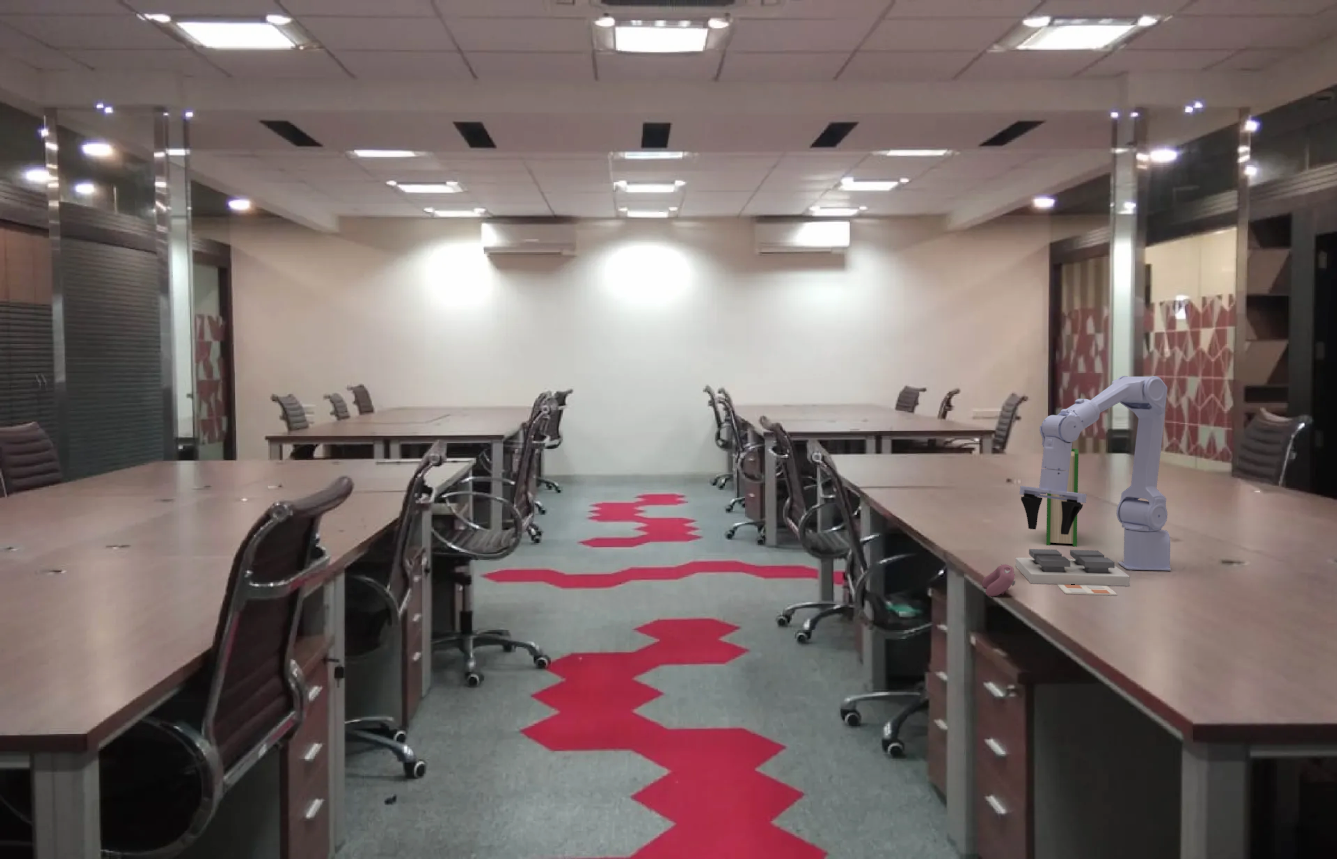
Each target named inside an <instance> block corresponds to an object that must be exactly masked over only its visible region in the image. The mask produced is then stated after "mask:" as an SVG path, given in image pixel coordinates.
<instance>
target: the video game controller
mask: <svg viewBox="0 0 1337 859" xmlns="http://www.w3.org/2000/svg"><path fill="white" fill-rule="evenodd" d="M1015 577H1016V574H1015V570H1014V567H1013V566H1011V565H1009V564H1008V563H1007V564H1006V563H1005V564H1003V563H1000V565H999V566H997V567H996V569H995V570H993V571H992V572H991V573H989V574H988V575H987V576H985V577H984V578H983V579H982V582H981V586H982V588H984V589H985V594H986V596H987V597H989V598H990V597H996V596H998V595H999V596H1000V595H1004V594H1005V593H1006V592H1007V590H1009V589H1010V587H1011V586H1012V587H1013V586H1015V585H1016V580H1015Z"/></svg>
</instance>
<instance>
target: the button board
mask: <svg viewBox="0 0 1337 859" xmlns="http://www.w3.org/2000/svg"><path fill="white" fill-rule="evenodd" d="M1067 559H1068V560H1069V561H1071V562H1070V567H1065V570H1064V572H1043V571H1042V566H1040V565H1039V564H1035V563H1034V559H1033V558H1032V557H1015V567H1016V569H1018V570H1019V572H1020V573H1021V574H1022V575H1023V576H1024V577H1025V579H1026V580H1027V581H1028V582H1029V583H1030V584H1033V585H1035V584H1037V585H1038V584H1039V585H1041V584H1042V585H1043V584H1044V585H1071V584H1075V585H1098V586H1108V587H1109V586H1114V587H1115V586H1116V587H1131V576H1129V575H1128V574H1127V573H1126V572H1125V571H1123V570H1121V569H1120V568H1119V567H1117V565H1115V568H1108V573H1086V572H1085V571H1084V570H1085V567H1084V566H1083V565H1077V564H1075V559H1074V558H1067Z"/></svg>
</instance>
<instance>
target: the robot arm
mask: <svg viewBox="0 0 1337 859" xmlns="http://www.w3.org/2000/svg"><path fill="white" fill-rule="evenodd" d="M1167 396H1168V386H1167V384H1165V382H1164V381H1163V380H1162V378H1161V377H1159V376H1158V375H1157V376H1156V375H1155V376H1153V375H1151V376H1128V375H1121V376H1119V377H1117V379H1114V380H1112V382H1111V384H1110V385H1109V386H1108V387H1106V388H1105V389H1104V390H1102V391H1101V392H1099V393H1098V394H1097V395H1096V396H1094V397H1093V398H1091V399H1087V398H1077V399H1076V400H1074V404H1072V405H1070V406H1069V407H1066V408H1062V409H1061V410H1060V412H1059V413H1058V414H1057V415H1056V414H1051V415H1047V417H1046V418H1044V420H1043V421H1042V423H1041V425H1039V433H1040V436H1041V438H1042V440H1041V445H1042V448H1043V449H1042V450H1043V452H1042V459H1041V460H1042V461H1041V469H1040V477H1039V485H1038V486H1039V487H1035V486H1026V485H1020V487H1019V495H1022V496H1020V500H1021V503H1022V505H1023V508H1024V512H1025V514H1026V521H1027V529H1029V530H1036V529H1037V527H1038V526H1037V525H1038V518H1039V517H1038V516H1039V512H1040V508H1041V504H1042V501H1043V498H1045V499H1047V498H1052V499H1059V500H1066V501H1067V502H1066V501H1061V504H1062V524H1061V534H1064V535H1068V534H1069V531H1070V528H1071V526H1072V523H1073V521H1074V519H1075V517H1076V516H1077V517H1078V514H1079V513H1080V511H1081V510H1082V509H1083V506H1084V504H1086V503H1087V496H1088V495H1087V493H1081V492H1080V493H1079V492H1078V493H1074V492H1067V485H1068V476H1069V467H1070V458H1071V449H1073V442H1075V441H1077V440H1078V439H1079V437H1080V434H1081V432H1083V431H1084V429H1086V428H1088V427H1089V426H1091V425H1093V424H1094V423H1096V422H1098V420H1100V417H1101V416H1100V415H1101V413H1102V412H1104V411H1106V410H1108V409H1110V408H1112V407H1114V406H1116V405H1117V404H1119V403H1120V404H1121V405H1123V406H1124V407H1125V408H1127V409H1128V410H1129V411H1131V412H1133V413H1134V414H1135V416H1136V417H1137V419H1138V420H1137V429H1136V437H1135V448H1134V455H1133V462H1132V463H1133V466H1132V473H1131V484H1130V486H1128V487H1127V488H1126V489H1124V490H1123V491H1122V492H1121V496H1120V500H1119V502H1118V504H1117V507H1116V517H1117V521H1118V522H1119V523H1120V524H1121V528H1123V530H1124V531H1123V535H1124V536H1123V560H1122V561H1121V560H1120V561H1117V564H1119V565H1120V566H1121V567H1123V568H1125V569H1126V570H1130V571H1132V570H1133V571H1135V570H1136V571H1137V570H1138V571H1139V570H1140V571H1171V570H1172V569H1171V536H1170V533H1169V531H1168V530H1166V529H1162V528H1163V527H1164V526H1165V525H1166V522H1167V520H1168V511H1167V510H1168V508H1167V497H1166V496H1165V495H1164V494H1163V493H1162V492H1161V491H1160V490H1159V489H1158V481H1159V480H1158V479H1159V472H1160V470H1159V469H1160V459H1161V454H1162V444H1163V436H1164V435H1163V434H1164V427H1165V416H1166V405H1167ZM1047 493H1049V494H1057V495H1059V496H1060V497H1054V496H1047ZM1061 497H1064V498H1061ZM1141 499H1143V500H1141Z"/></svg>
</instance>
